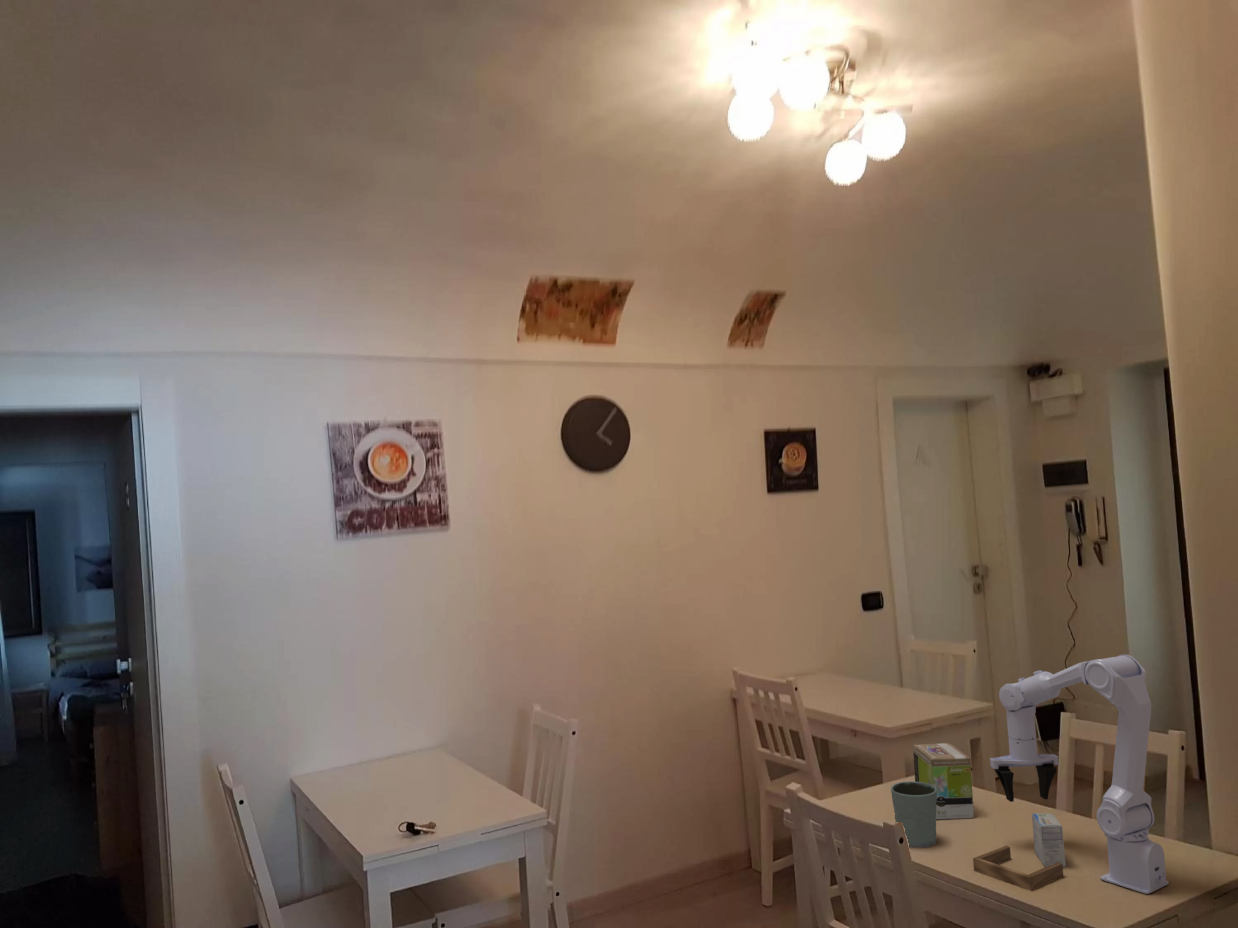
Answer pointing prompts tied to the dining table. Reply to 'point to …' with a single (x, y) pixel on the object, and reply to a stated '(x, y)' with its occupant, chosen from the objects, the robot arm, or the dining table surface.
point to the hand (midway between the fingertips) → (1027, 799)
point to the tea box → (946, 778)
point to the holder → (1031, 881)
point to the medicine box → (1048, 839)
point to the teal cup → (916, 811)
